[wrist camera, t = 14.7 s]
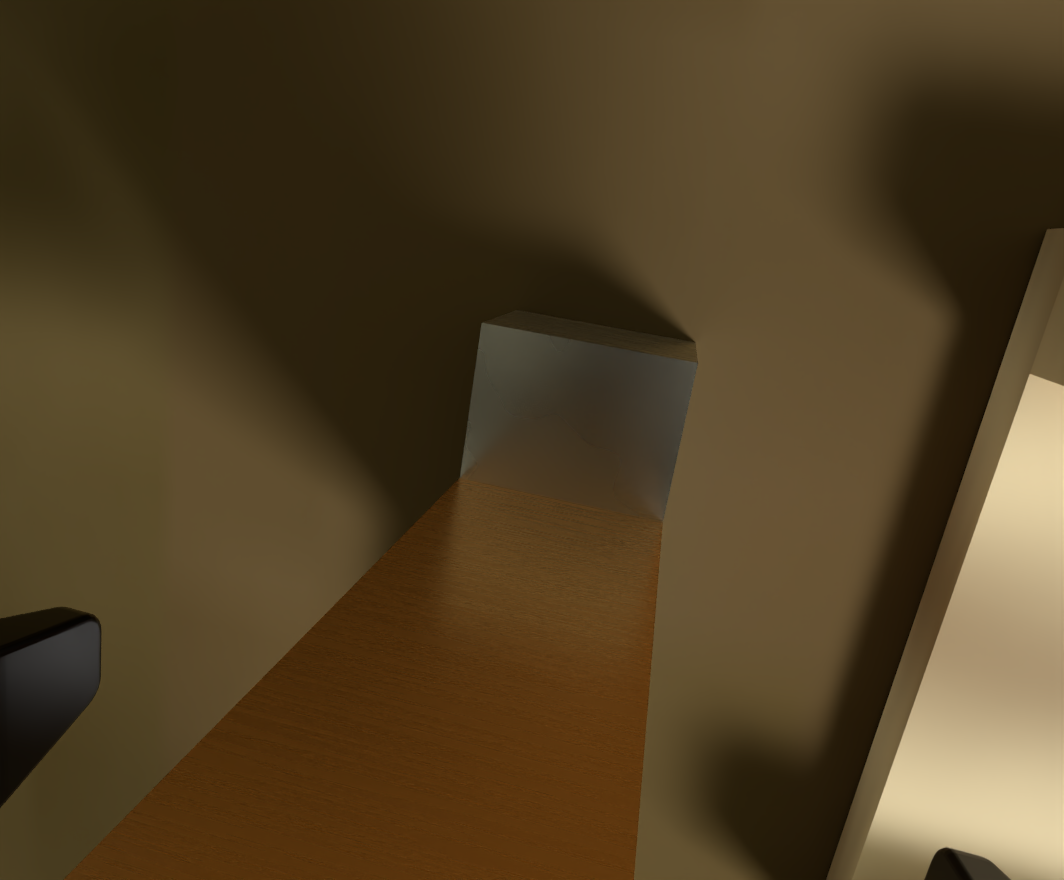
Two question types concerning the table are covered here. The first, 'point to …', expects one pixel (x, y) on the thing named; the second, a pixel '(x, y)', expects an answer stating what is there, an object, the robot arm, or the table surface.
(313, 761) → the grey-ended wooden block
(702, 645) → the table surface
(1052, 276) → the slotted block
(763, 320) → the table surface
